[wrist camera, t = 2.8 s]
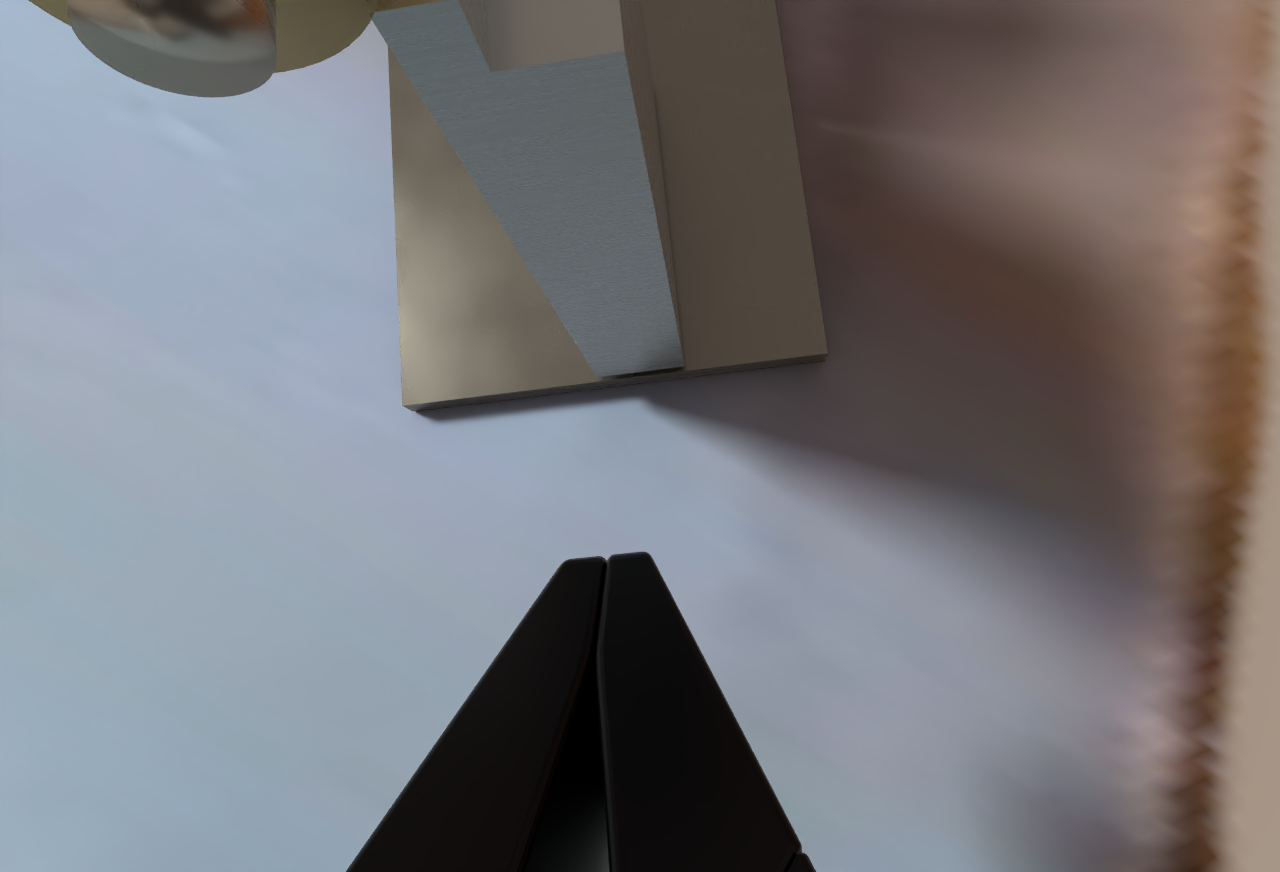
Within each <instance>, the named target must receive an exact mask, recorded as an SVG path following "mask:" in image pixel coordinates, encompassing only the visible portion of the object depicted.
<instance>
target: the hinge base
mask: <svg viewBox="0 0 1280 872" xmlns="http://www.w3.org/2000/svg"><path fill="white" fill-rule="evenodd" d="M641 4H642V11H643V18H644V25H645V32H646V39H647V46H648V52H649V59H650V66H651V74H652V83H653V91H654V100H655V109H656V118H657V127H658V136H659V145H660V153H661V162H662V171H663V180H664V189H665V198H666V207H667V215H668V224H669V233H670V242H671V251H672V260H673V269H674V278H675V286H676V295H677V304H678V313H679V322H680V331H681V340H682V348H683V357H684V366H685V367H677V368H669V369H661V370H653V371H644V372H636V373H628V374H620V375H612V376H604V377H597V376H596V375H595V373H594V372H593V370H592V368H591V367H590V365H589V364H588V362H587V361H586V359H585V357H584V356H583V354H582V353H581V351H580V349H579V348H578V346H577V345H576V343H575V341H574V340H573V338H572V337H571V335H570V334H569V332H568V330H567V329H566V327H565V326H564V324H563V322H562V321H561V319H560V318H559V316H558V314H557V313H556V311H555V310H554V308H553V307H552V305H551V303H550V302H549V300H548V299H547V297H546V295H545V294H544V292H543V291H542V289H541V287H540V286H539V284H538V283H537V281H536V280H535V278H534V276H533V275H532V273H531V272H530V270H529V268H528V267H527V265H526V264H525V262H524V261H523V259H522V257H521V256H520V254H519V253H518V251H517V249H516V248H515V246H514V245H513V243H512V241H511V240H510V238H509V237H508V235H507V234H506V232H505V230H504V229H503V227H502V226H501V224H500V222H499V221H498V219H497V218H496V216H495V214H494V213H493V211H492V210H491V208H490V207H489V205H488V203H487V202H486V200H485V199H484V197H483V195H482V194H481V192H480V191H479V189H478V187H477V186H476V184H475V183H474V181H473V180H472V178H471V176H470V175H469V173H468V172H467V170H466V168H465V167H464V165H463V164H462V162H461V161H460V159H459V157H458V156H457V154H456V153H455V151H454V149H453V148H452V146H451V145H450V143H449V141H448V140H447V138H446V137H445V135H444V134H443V132H442V130H441V129H440V127H439V126H438V124H437V122H436V121H435V119H434V118H433V116H432V114H431V113H430V111H429V110H428V108H427V107H426V105H425V103H424V102H423V100H422V99H421V97H420V95H419V94H418V92H417V91H416V89H415V87H414V86H413V84H412V83H411V81H410V80H409V78H408V76H407V75H406V73H405V72H404V70H403V68H402V67H401V65H400V64H399V62H398V61H397V59H396V57H395V56H394V54H393V53H392V51H391V49H390V48H389V46H388V59H389V84H390V108H391V133H392V158H393V182H394V207H395V231H396V256H397V280H398V305H399V330H400V354H401V379H402V403H403V406H404V407H406V408H408V409H409V410H411V411H420V410H428V409H436V408H444V407H453V406H461V405H469V404H477V403H485V402H493V401H501V400H510V399H518V398H526V397H534V396H542V395H550V394H559V393H567V392H575V391H583V390H591V389H599V388H607V387H616V386H624V385H632V384H640V383H648V382H656V381H665V380H673V379H681V378H689V377H697V376H705V375H713V374H722V373H730V372H738V371H746V370H754V369H762V368H770V367H779V366H787V365H795V364H803V363H811V362H819V361H825V359H826V357H827V355H828V349H827V342H826V336H825V329H824V322H823V316H822V309H821V302H820V295H819V289H818V282H817V275H816V269H815V262H814V255H813V249H812V242H811V235H810V229H809V222H808V215H807V209H806V202H805V195H804V189H803V182H802V175H801V169H800V162H799V155H798V149H797V142H796V135H795V129H794V122H793V115H792V109H791V102H790V95H789V89H788V82H787V75H786V69H785V62H784V55H783V49H782V42H781V35H780V29H779V22H778V15H777V9H776V2H775V0H641Z"/></svg>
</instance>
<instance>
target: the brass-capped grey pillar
mask: <svg viewBox="0 0 1280 872" xmlns="http://www.w3.org/2000/svg"><path fill="white" fill-rule="evenodd" d="M29 1H30V2H32V3H33V4H35V5H36V6H38V7H39V8H41V9H42V10H44V11H45V12H47V13H49V14H50V15H52V16H54V17H55V18H57V19H59V20H61V21H62V22H64V23H66V24H68V25H70V26H71V27H72V29H73V31H74V33H75V34H76V36H77V37H78V39H79V40H80V41H81V42H82V43H83V45H84V46H85V47H86V48H87V49H88V50H89V51H90V52H91V53H93V54H94V55H95V56H96V57H97V58H99V59H100V60H101V61H103V62H104V63H105V64H107V65H108V66H110V67H112V68H113V69H115V70H116V71H118V72H120V73H122V74H124V75H126V76H128V77H130V78H132V79H134V80H136V81H138V82H141V83H144V84H146V85H149V86H152V87H155V88H158V89H161V90H165V91H169V92H173V93H177V94H183V95H189V96H197V97H227V96H234V95H239V94H243V93H246V92H249V91H252V90H254V89H256V88H258V87H260V86H261V85H263V84H264V83H265V82H266V81H267V80H268V79H269V78H270V77H271V75H272V74H273V73H276V72H285V71H290V70H294V69H299V68H304V67H307V66H310V65H313V64H316V63H319V62H321V61H323V60H325V59H327V58H330V57H332V56H334V55H336V54H337V53H339V52H340V51H342V50H343V49H345V48H346V47H348V46H349V45H350V44H351V43H352V42H353V41H355V40H356V39H357V38H358V37H359V36H360V35H361V34H362V32H363V31H364V30H365V28H366V27H367V26H368V24H369V23H370V21H371V19H372V21H373V22H374V24H375V26H376V27H377V29H378V30H379V32H380V34H381V35H382V37H383V38H384V40H385V41H386V43H387V45H388V46H389V48H390V49H391V51H392V53H393V54H394V56H395V57H396V59H397V61H398V62H399V64H400V65H401V67H402V68H403V70H404V72H405V73H406V75H407V76H408V78H409V80H410V81H411V83H412V84H413V86H414V87H415V89H416V91H417V92H418V94H419V95H420V97H421V99H422V100H423V102H424V103H425V105H426V107H427V108H428V110H429V111H430V113H431V114H432V116H433V118H434V119H435V121H436V122H437V124H438V126H439V127H440V129H441V130H442V132H443V134H444V135H445V137H446V138H447V140H448V141H449V143H450V145H451V146H452V148H453V149H454V151H455V153H456V154H457V156H458V157H459V159H460V161H461V162H462V164H463V165H464V167H465V168H466V170H467V172H468V173H469V175H470V176H471V178H472V180H473V181H474V183H475V184H476V186H477V187H478V189H479V191H480V192H481V194H482V195H483V197H484V199H485V200H486V202H487V203H488V205H489V207H490V208H491V210H492V211H493V213H494V214H495V216H496V218H497V219H498V221H499V222H500V224H501V226H502V227H503V229H504V230H505V232H506V234H507V235H508V237H509V238H510V240H511V241H512V243H513V245H514V246H515V248H516V249H517V251H518V253H519V254H520V256H521V257H522V259H523V261H524V262H525V264H526V265H527V267H528V268H529V270H530V272H531V273H532V275H533V276H534V278H535V280H536V281H537V283H538V284H539V286H540V287H541V289H542V291H543V292H544V294H545V295H546V297H547V299H548V300H549V302H550V303H551V305H552V307H553V308H554V310H555V311H556V313H557V314H558V316H559V318H560V319H561V321H562V322H563V324H564V326H565V327H566V329H567V330H568V332H569V334H570V335H571V337H572V338H573V340H574V341H575V343H576V345H577V346H578V348H579V349H580V351H581V353H582V354H583V356H584V357H585V359H586V361H587V362H588V364H589V365H590V367H591V368H592V370H593V372H594V373H595V375H596V376H597V377H604V376H612V375H620V374H628V373H636V372H644V371H653V370H661V369H669V368H677V367H685V366H684V357H683V348H682V340H681V331H680V322H679V313H678V304H677V295H676V286H675V278H674V269H673V260H672V251H671V242H670V233H669V224H668V215H667V207H666V198H665V189H664V180H663V171H662V162H661V153H660V145H659V136H658V127H657V118H656V109H655V100H654V91H653V83H652V74H651V66H650V59H649V52H648V46H647V39H646V32H645V25H644V18H643V11H642V4H641V0H29Z"/></svg>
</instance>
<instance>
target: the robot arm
mask: <svg viewBox="0 0 1280 872" xmlns="http://www.w3.org/2000/svg"><path fill="white" fill-rule="evenodd" d="M346 872H816V871H815V869H814V867H813V865H812V863H811V861H810V859H809V857H808V856H807V855H806V854H805V853H802V846H801V843H800V841H799V839H798V837H797V835H796V833H795V831H794V829H793V828H792V826H791V824H790V822H789V820H788V818H787V816H786V814H785V812H784V810H783V808H782V806H781V804H780V803H779V801H778V799H777V797H776V795H775V793H774V791H773V789H772V787H771V785H770V783H769V781H768V779H767V778H766V776H765V774H764V772H763V770H762V768H761V766H760V764H759V762H758V760H757V758H756V756H755V754H754V753H753V751H752V749H751V747H750V745H749V743H748V741H747V739H746V737H745V735H744V733H743V731H742V730H741V728H740V726H739V724H738V722H737V720H736V718H735V716H734V714H733V712H732V710H731V708H730V706H729V705H728V703H727V701H726V699H725V697H724V695H723V693H722V691H721V689H720V687H719V685H718V683H717V681H716V680H715V678H714V676H713V674H712V672H711V670H710V668H709V666H708V664H707V662H706V660H705V658H704V656H703V655H702V653H701V651H700V649H699V647H698V645H697V643H696V641H695V639H694V637H693V635H692V633H691V631H690V630H689V628H688V626H687V624H686V622H685V620H684V618H683V616H682V614H681V612H680V610H679V608H678V606H677V605H676V603H675V601H674V599H673V597H672V595H671V593H670V591H669V589H668V587H667V585H666V583H665V581H664V580H663V578H662V576H661V574H660V572H659V570H658V568H657V566H656V564H655V562H654V560H653V558H652V557H651V555H650V554H649V553H647V552H634V553H625V554H615V555H612V556H610V557H609V558H608V560H607V561H606V559H605V558H603V557H601V556H596V557H586V558H576V559H569V560H566V561H565V562H563V563H562V564H561V565H560V566H559V568H558V569H557V571H556V572H555V574H554V575H553V576H552V578H551V579H550V581H549V582H548V584H547V585H546V586H545V588H544V589H543V591H542V592H541V594H540V595H539V596H538V598H537V599H536V601H535V602H534V604H533V605H532V606H531V608H530V609H529V611H528V612H527V614H526V615H525V616H524V618H523V619H522V621H521V622H520V624H519V625H518V626H517V628H516V629H515V631H514V632H513V634H512V635H511V636H510V638H509V639H508V641H507V642H506V644H505V645H504V646H503V648H502V649H501V651H500V652H499V654H498V655H497V656H496V658H495V659H494V661H493V662H492V664H491V665H490V666H489V668H488V669H487V671H486V672H485V674H484V675H483V676H482V678H481V679H480V681H479V682H478V684H477V685H476V686H475V688H474V689H473V691H472V692H471V694H470V695H469V696H468V698H467V699H466V701H465V702H464V704H463V705H462V706H461V708H460V709H459V711H458V712H457V714H456V715H455V716H454V718H453V719H452V721H451V722H450V724H449V725H448V726H447V728H446V729H445V731H444V732H443V734H442V735H441V736H440V738H439V739H438V741H437V742H436V744H435V745H434V746H433V748H432V749H431V751H430V752H429V754H428V755H427V756H426V758H425V759H424V761H423V762H422V764H421V765H420V766H419V768H418V769H417V771H416V772H415V774H414V775H413V776H412V778H411V779H410V781H409V782H408V784H407V785H406V786H405V788H404V789H403V791H402V792H401V794H400V795H399V796H398V798H397V799H396V801H395V802H394V804H393V805H392V806H391V808H390V809H389V811H388V812H387V814H386V815H385V816H384V818H383V819H382V821H381V822H380V824H379V825H378V826H377V828H376V829H375V831H374V832H373V834H372V835H371V836H370V838H369V839H368V841H367V842H366V844H365V845H364V846H363V848H362V849H361V851H360V852H359V854H358V855H357V856H356V858H355V859H354V861H353V862H352V864H351V865H350V866H349V868H348V869H347V871H346Z"/></svg>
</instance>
